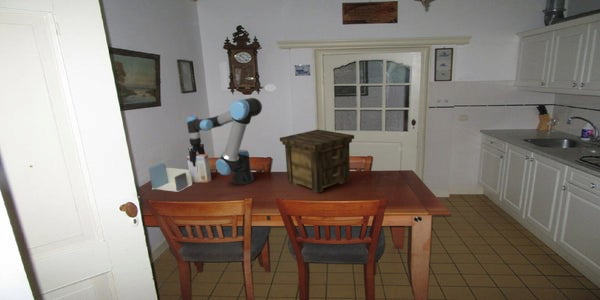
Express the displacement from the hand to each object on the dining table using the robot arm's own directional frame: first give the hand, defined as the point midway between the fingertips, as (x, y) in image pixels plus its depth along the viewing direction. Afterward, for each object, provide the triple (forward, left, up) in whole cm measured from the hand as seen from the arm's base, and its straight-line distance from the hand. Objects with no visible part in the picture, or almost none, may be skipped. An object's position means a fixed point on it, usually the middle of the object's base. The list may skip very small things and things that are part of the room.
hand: (199, 168), depth 222 cm
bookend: (+2, +16, -9) cm, 19 cm away
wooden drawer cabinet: (-84, -21, -11) cm, 87 cm away
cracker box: (0, 0, -11) cm, 11 cm away
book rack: (+13, +15, -10) cm, 22 cm away
